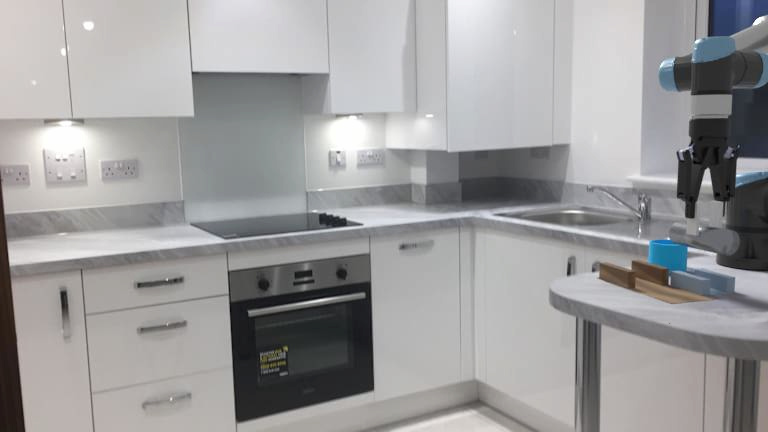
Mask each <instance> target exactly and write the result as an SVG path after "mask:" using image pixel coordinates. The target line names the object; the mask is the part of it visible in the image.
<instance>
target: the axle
mask: <svg viewBox="0 0 768 432" xmlns="http://www.w3.org/2000/svg"><path fill="white" fill-rule="evenodd" d="M686 231H687V221H683V220H678V221H675V222H674V223H673V224H672V225H671V226H670V228H669V231H668V236H669V237H668V238H669V240H671V241H672V243H674V244H677V245H681V246H686V247H688V248H690V249H695V250H700V251H704V252H709V253H715V254H717V253H718V254H722V255H727V256H729V255H732V254H734V253H735V252H736V251H737V249H738V247H739V244H740V238H739V235H738V234H737V233H736V232H735V231H733V230H728V229H725V228H723V227H722V228H717V227H711V226H709V225H706V224H705V225H704V224H700V227H699V235H698V236H695V235H690V234H686Z"/></svg>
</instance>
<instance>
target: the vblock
mask: <svg viewBox="0 0 768 432" xmlns="http://www.w3.org/2000/svg"><path fill="white" fill-rule="evenodd" d="M669 283H670V284H669V285H671V286H674V287H677V288H680V289H683V290H687V291H690V292H693V293H696V294H699V295H703V296H706V297H709V296H717V295H726V294H727V295H729V294H735V288H736V287H735V286H736V277H735V276H732V275H728V274H724V273H721V272H716V271H714V270H709V269H706V268H695V269H694V274H692V273H688V272H682V271H671V275H670V278H669Z"/></svg>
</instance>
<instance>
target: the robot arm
mask: <svg viewBox="0 0 768 432" xmlns="http://www.w3.org/2000/svg"><path fill="white" fill-rule="evenodd" d="M692 46H693V47H692V48H693V49H692V53H689V54H687V55H684V56H674V57H670V58H666V59H664V60H663V61H662V63H661V64H660V66H659V68H658V74H657V75H658V76H657V77H658V82H659V83H658V84H659V85H660V87H661V88H662V89H663V90H664V91H666V92H677V93H682V92H690V100H689V101H690V103H689V104H690V105H689V116H691V117H692V118H691V119H690V120H689V121H688V136H689V137H690V141H689V144H688V147H685V148H683V149H679V148H678V149H677V150H676V157H677V160H678V161H677V165H678V166H677V180H676V181H677V183H676V198H677V199H679V200H681V201H682V202H685V203H684V204H685V205H684V217H685V218H686V222H687V231H686V234H690V235H695V236H698V235H699V227H700V225H701V224H700V223H701V206H702V205H701V202H698V200H699V195H700V192H701V188H702V183H703V180H704V176H705V171H706V170H707V169H709V175H710V181H711V186H712V187H711V188H712V194H713V199H714V200H710V201H709V204H710V205H709V220H708V226H711V227H717V228H723V217H725V228H724V229H728V230H733V231H735V232H736V233H737V234H738V235H739V238H740V244H739V247H738V249H737V251H736V252H735V253H734V254H732V255H729V256H727V255H722V254H718V253H715V254H716V255H715V262H716V264H718V265H721V266H725V267H729V268H734V269H742V270H751V271H752V270H756V271H758V270H759V271H768V170H766V171H765V170H764V171H751V172H743V173H742V172H741V173H740V172H739V173H737V164H738V163H737V161H738V158H739V155H740V151H741V150H740V149H739V148H732V147H730V146H729V143H728V138H729V137H730V136H731V125H732V120H731V118H729V116H731V115H732V107H733V106H732V105H733V89H744V90H752V89H758V88H760V87H763V86H765V85H766V84H767V83H768V13H767V14H765V15H763V16H760V17H759V18H757V19H756V20H755V21H754V22H753V24H752V25H751V26H750V27H747V28H745V29H743V30H740V31H739V32H736V33H734V34H732V35H729V36H726V35H724V36H722V35H721V36H720V35H719V36H707V37H701V38H698V39H696V40H695V41H694V43H693V45H692Z"/></svg>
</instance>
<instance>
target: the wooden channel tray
mask: <svg viewBox="0 0 768 432" xmlns="http://www.w3.org/2000/svg"><path fill="white" fill-rule="evenodd" d="M648 262H649V261H644V260H641V259H634V260H633V259H632V260H631V267H630V268H631V269H630V268H626V267H623V266H620V265H616V264H613V263H610V262H599V269H598V271H599V273H598V276H599V277H597V279H598V280H601V281H604V282H606V283H610V284H612V285H615V286H618V287H620V288H621V287H622V288H624V289H626V290H630V291H632V292H636V293H638V294H641V295H644V296H647V297H649V298H653V299H656V300H659V301H661V302H665V303H667V304H670V305H676V304H686V303H695V302H703V301H704V302H706V301H715V300H716V299H715V298H712V297H709V296H704V295H699V294H696V293H693V292H690V291H687V290H683V289H680V288H677V287H674V286H671V285H670V284H669V283H670V275H669V268H666V267H662V266H659V265H655V264H652V263H648Z"/></svg>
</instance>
